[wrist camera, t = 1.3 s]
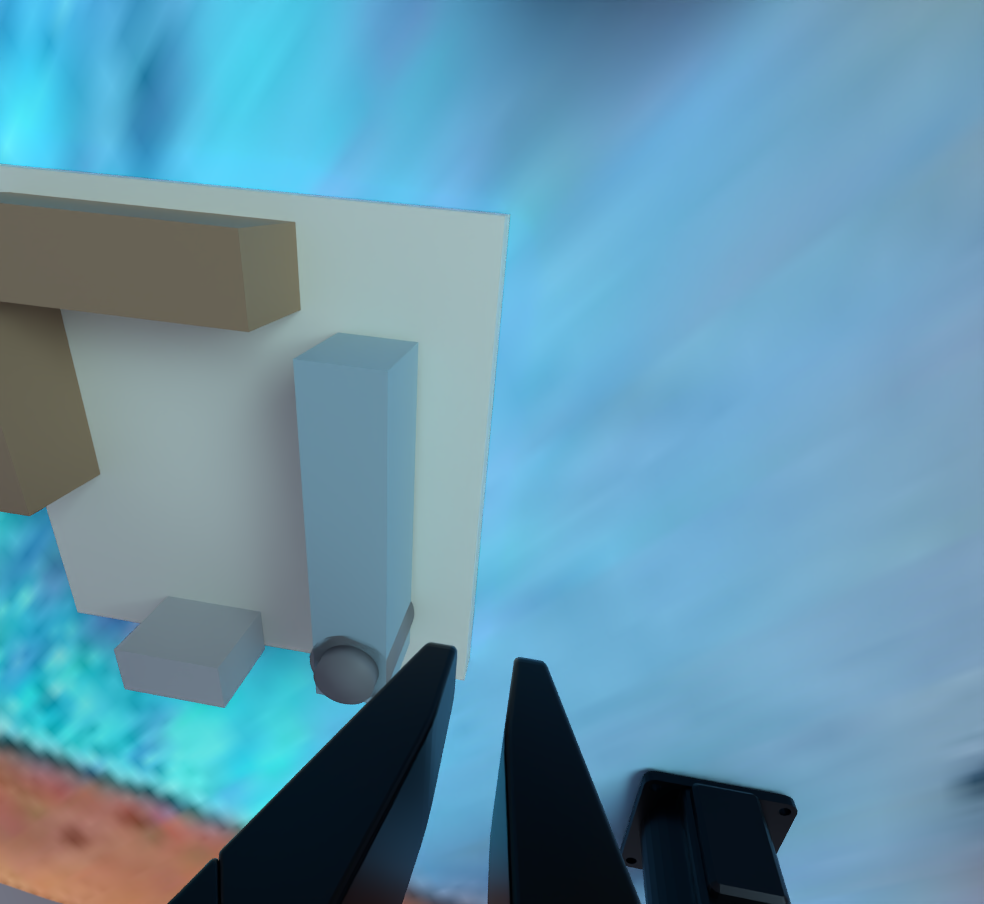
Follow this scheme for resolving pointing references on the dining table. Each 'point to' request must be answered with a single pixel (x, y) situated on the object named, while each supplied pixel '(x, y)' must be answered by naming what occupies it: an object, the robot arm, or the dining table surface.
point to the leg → (358, 507)
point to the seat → (229, 401)
